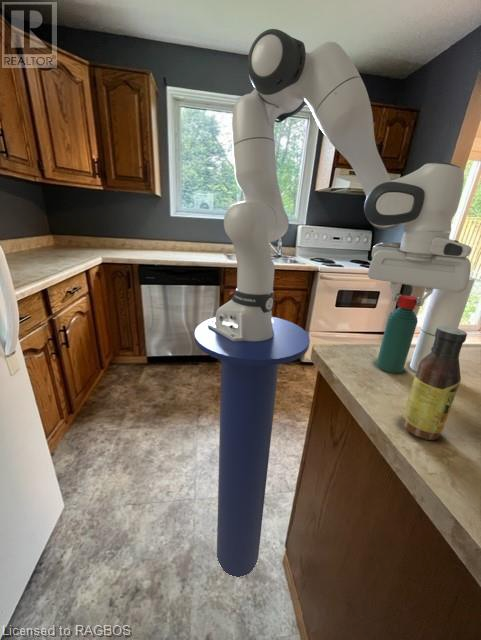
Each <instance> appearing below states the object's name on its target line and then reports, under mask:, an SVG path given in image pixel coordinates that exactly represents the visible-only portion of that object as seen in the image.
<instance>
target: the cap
mask: <svg viewBox="0 0 481 640" xmlns="http://www.w3.org/2000/svg"><path fill="white" fill-rule="evenodd" d="M417 298H418V297H416V296H411V295H407V294H405V295H404V294H401V296H400V298H399V302H397V307H401V308H405V309H413V310H415V309H416V306H417V305H415V304H416V302H417V301H416V300H417Z"/></svg>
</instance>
